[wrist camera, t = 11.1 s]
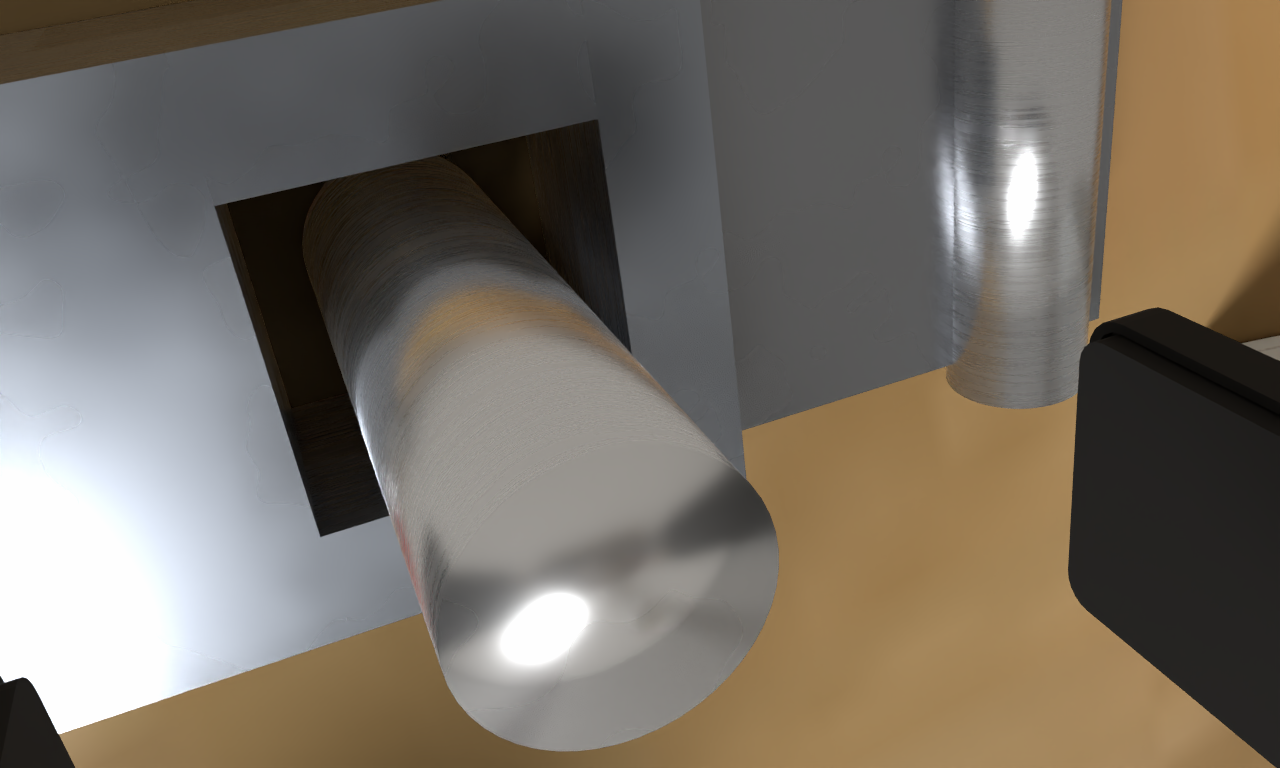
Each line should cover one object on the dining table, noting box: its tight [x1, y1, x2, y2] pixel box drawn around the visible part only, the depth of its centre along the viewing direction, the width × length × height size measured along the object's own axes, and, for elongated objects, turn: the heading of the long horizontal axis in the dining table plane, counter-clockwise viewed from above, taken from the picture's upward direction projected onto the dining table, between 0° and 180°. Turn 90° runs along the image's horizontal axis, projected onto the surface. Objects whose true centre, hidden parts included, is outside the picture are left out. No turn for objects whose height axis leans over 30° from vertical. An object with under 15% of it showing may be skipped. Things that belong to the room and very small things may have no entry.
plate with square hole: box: [0, 0, 1122, 734], centre depth 15 cm, size 24×9×5 cm, turn 97°
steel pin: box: [302, 156, 779, 751], centre depth 14 cm, size 3×3×10 cm
